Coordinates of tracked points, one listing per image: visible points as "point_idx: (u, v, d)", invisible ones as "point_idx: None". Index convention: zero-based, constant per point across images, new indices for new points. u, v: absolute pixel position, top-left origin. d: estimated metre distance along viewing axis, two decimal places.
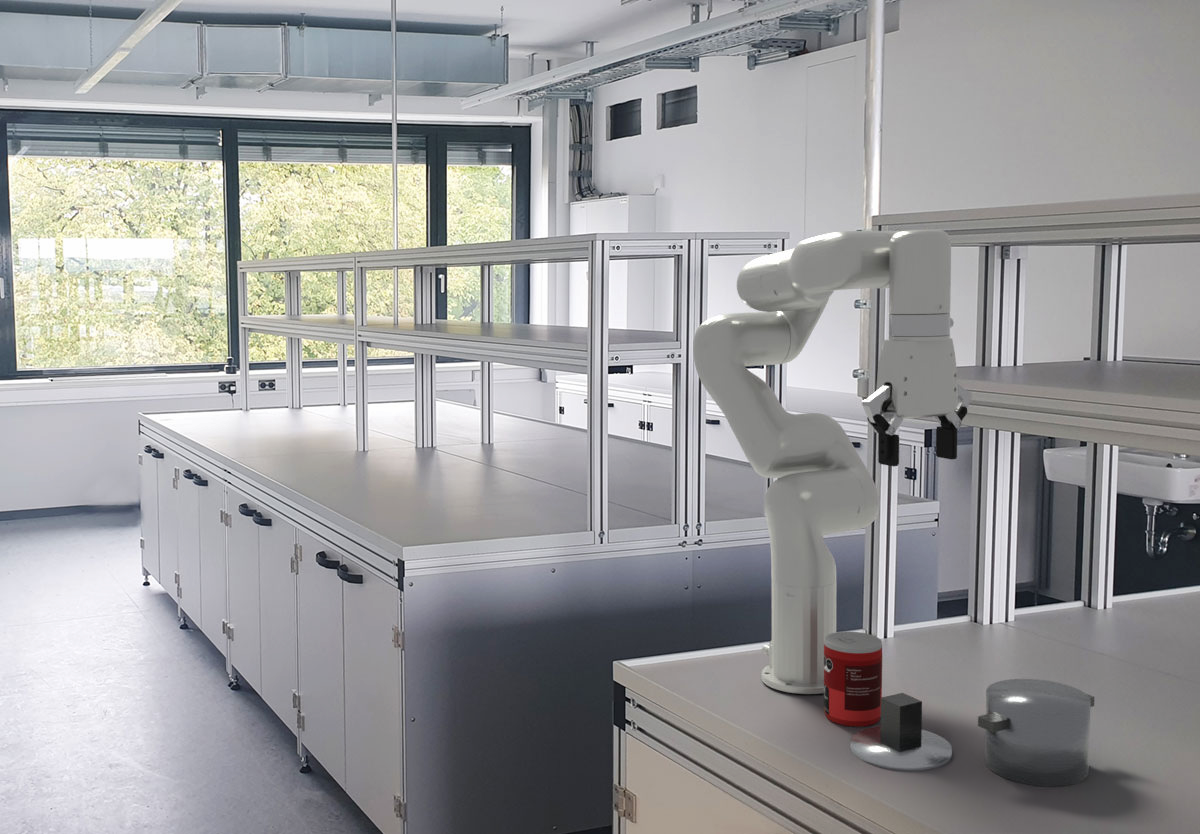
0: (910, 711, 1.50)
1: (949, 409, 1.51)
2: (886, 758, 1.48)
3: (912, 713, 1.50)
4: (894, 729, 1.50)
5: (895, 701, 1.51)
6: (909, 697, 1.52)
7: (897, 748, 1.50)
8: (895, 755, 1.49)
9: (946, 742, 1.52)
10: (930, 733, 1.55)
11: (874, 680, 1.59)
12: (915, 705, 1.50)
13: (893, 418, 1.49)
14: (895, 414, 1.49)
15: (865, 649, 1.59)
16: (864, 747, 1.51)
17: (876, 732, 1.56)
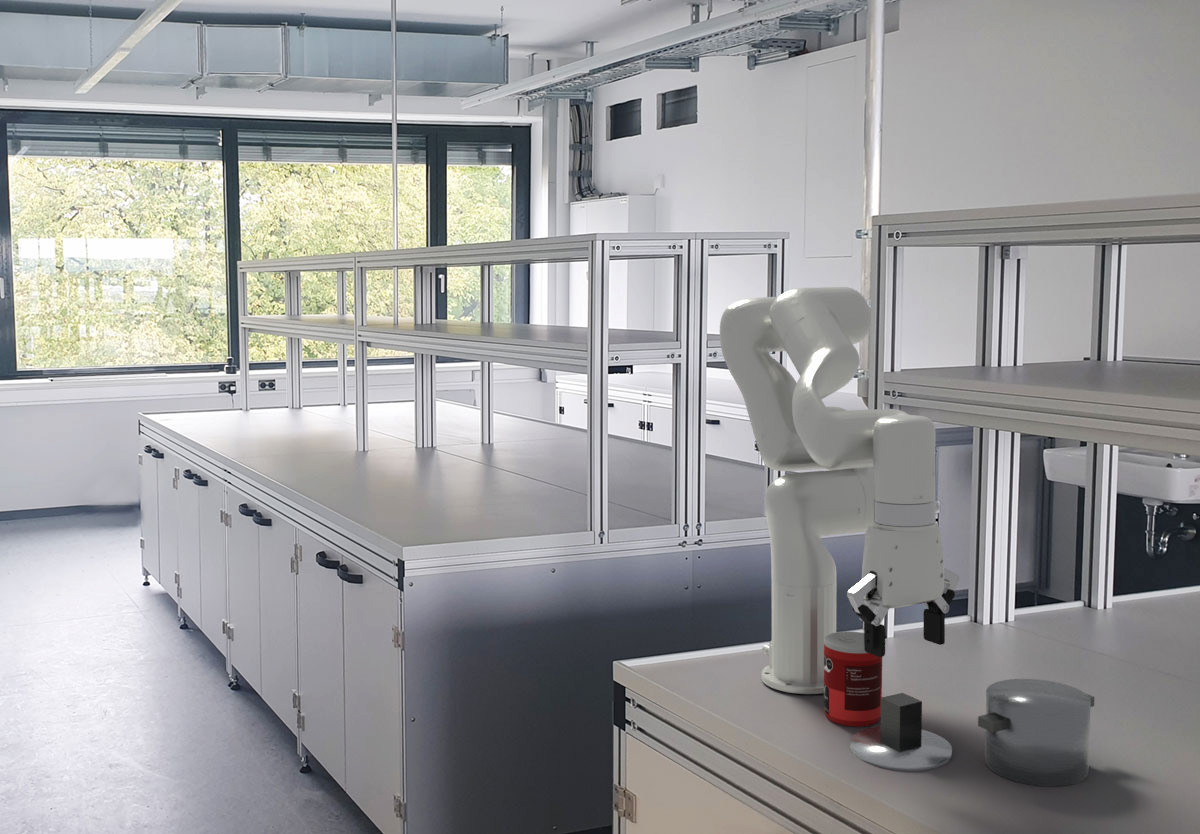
0: (910, 711, 1.50)
1: (936, 595, 1.49)
2: (886, 758, 1.48)
3: (912, 713, 1.50)
4: (894, 729, 1.50)
5: (895, 701, 1.51)
6: (909, 697, 1.52)
7: (897, 748, 1.50)
8: (895, 755, 1.49)
9: (946, 742, 1.52)
10: (930, 733, 1.55)
11: (874, 680, 1.59)
12: (915, 705, 1.50)
13: (879, 608, 1.46)
14: (881, 604, 1.46)
15: None
16: (864, 747, 1.51)
17: (876, 732, 1.56)
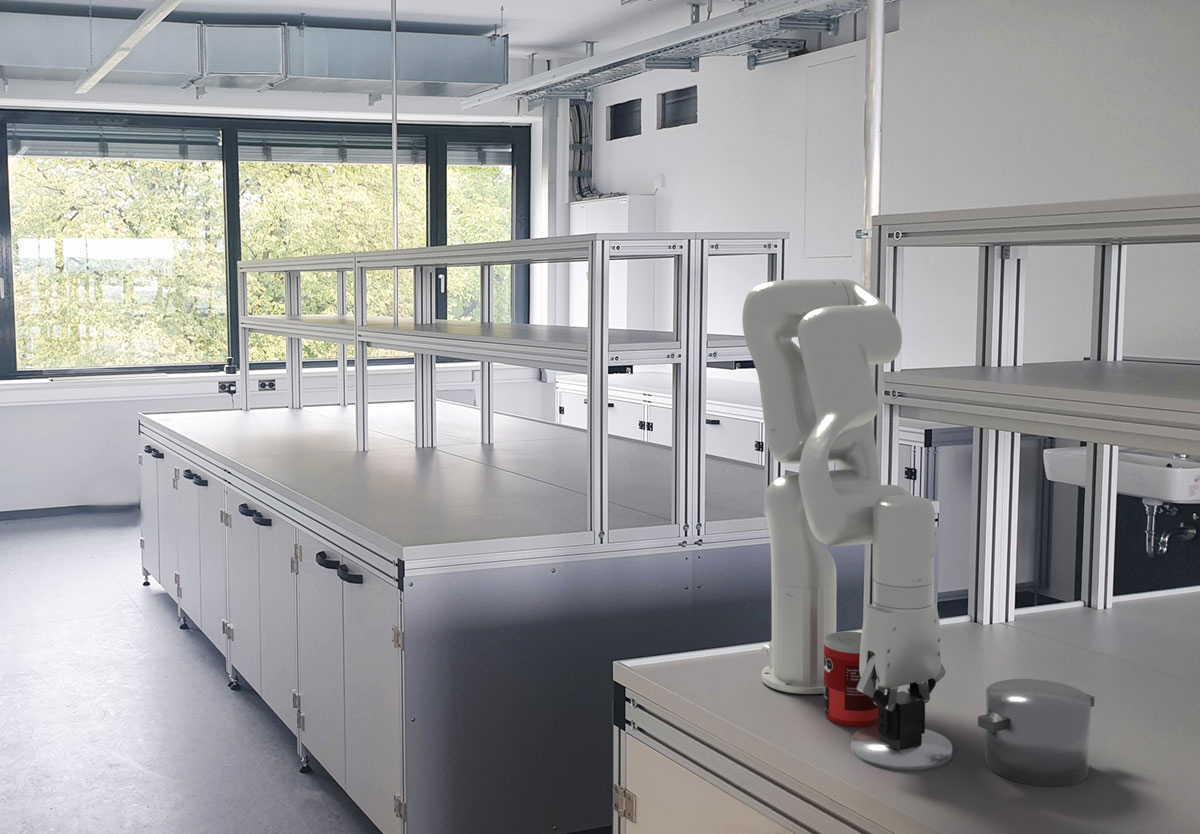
0: (910, 709, 1.50)
1: (933, 674, 1.50)
2: (887, 757, 1.48)
3: (912, 711, 1.50)
4: None
5: None
6: (909, 695, 1.52)
7: (897, 746, 1.50)
8: (895, 753, 1.49)
9: (946, 740, 1.52)
10: (930, 731, 1.55)
11: None
12: (915, 703, 1.50)
13: (888, 695, 1.49)
14: (888, 690, 1.49)
15: None
16: (864, 746, 1.51)
17: (876, 730, 1.56)
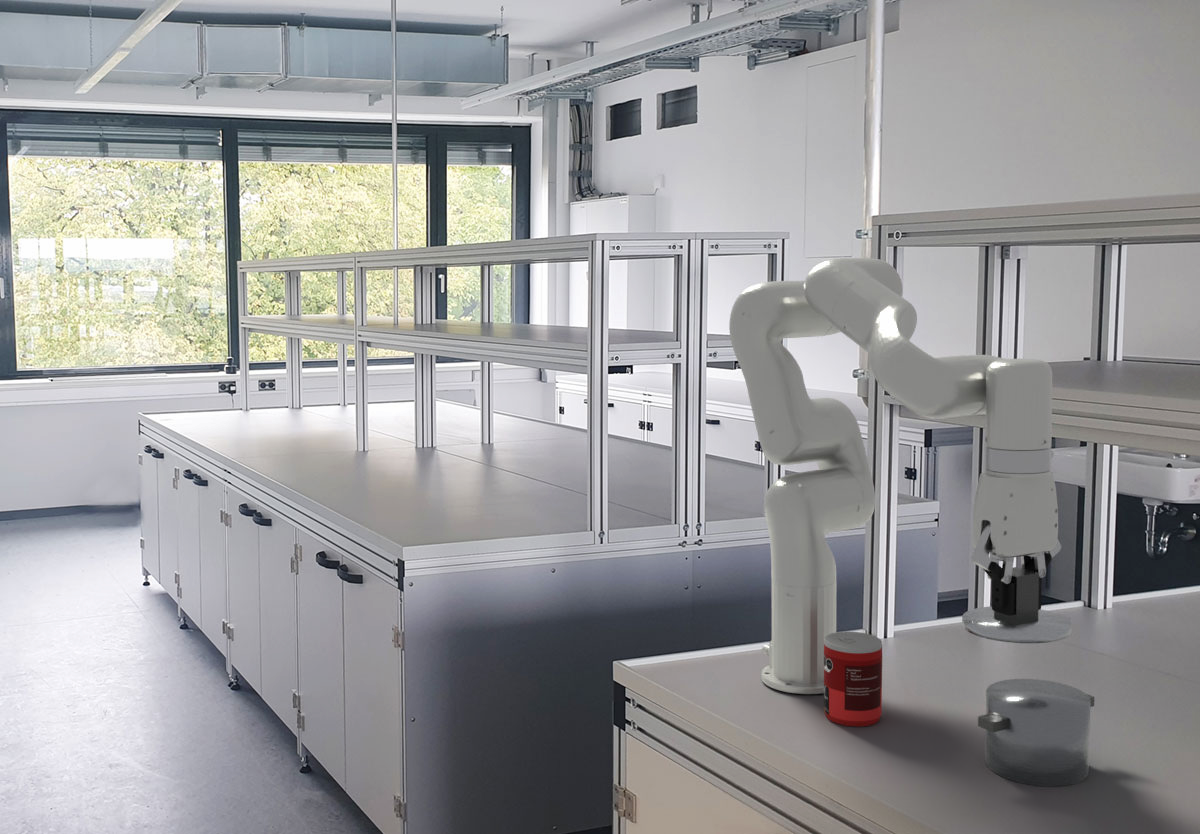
0: (1027, 583, 1.43)
1: (1050, 546, 1.44)
2: (1004, 630, 1.41)
3: (1029, 585, 1.43)
4: None
5: None
6: (1024, 570, 1.45)
7: (1013, 621, 1.43)
8: (1012, 628, 1.42)
9: (1063, 617, 1.45)
10: (1045, 611, 1.48)
11: (874, 680, 1.59)
12: (1032, 576, 1.43)
13: (1004, 566, 1.42)
14: (1004, 561, 1.42)
15: (865, 649, 1.58)
16: (977, 622, 1.44)
17: (987, 610, 1.49)
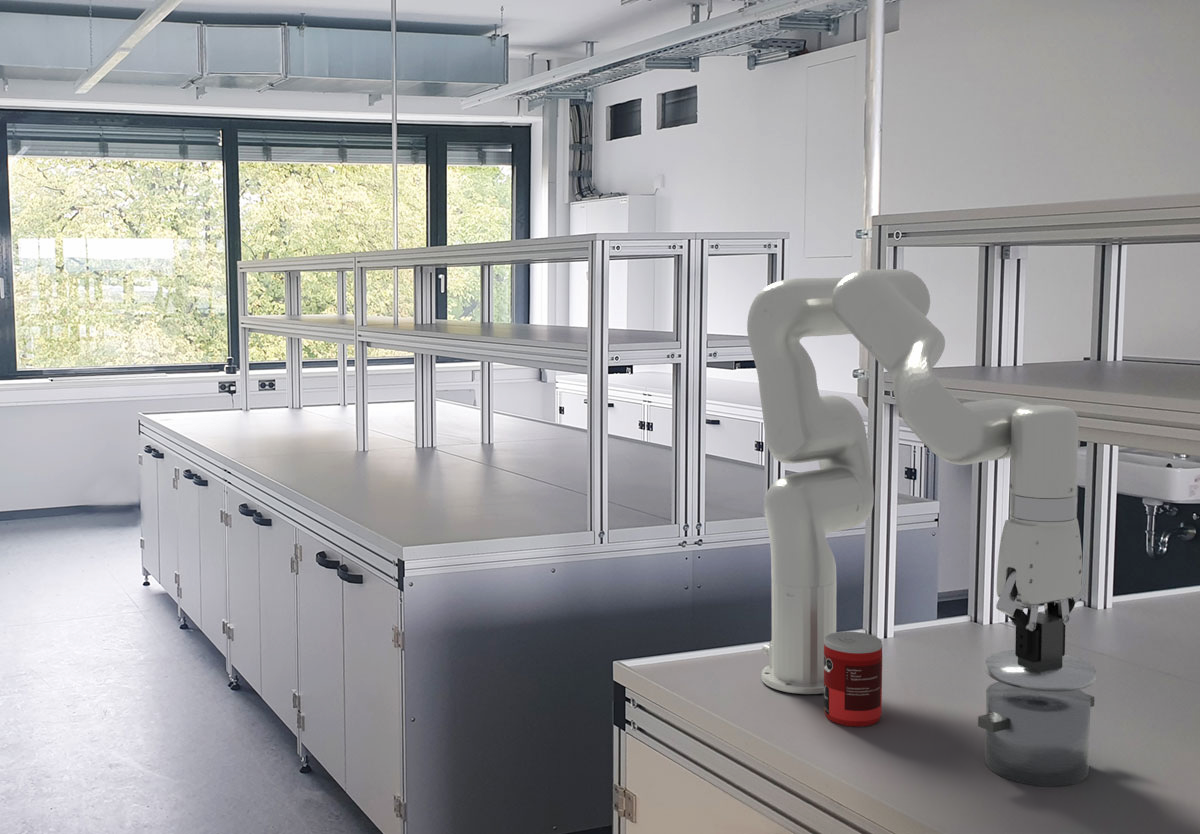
0: (1051, 629, 1.43)
1: (1074, 592, 1.43)
2: (1029, 678, 1.40)
3: (1053, 631, 1.43)
4: None
5: None
6: (1048, 616, 1.45)
7: (1038, 668, 1.43)
8: (1037, 675, 1.41)
9: (1087, 663, 1.45)
10: (1067, 655, 1.48)
11: (874, 680, 1.59)
12: (1057, 623, 1.43)
13: (1028, 613, 1.42)
14: (1029, 608, 1.42)
15: (865, 649, 1.58)
16: (1002, 668, 1.44)
17: (1010, 655, 1.49)
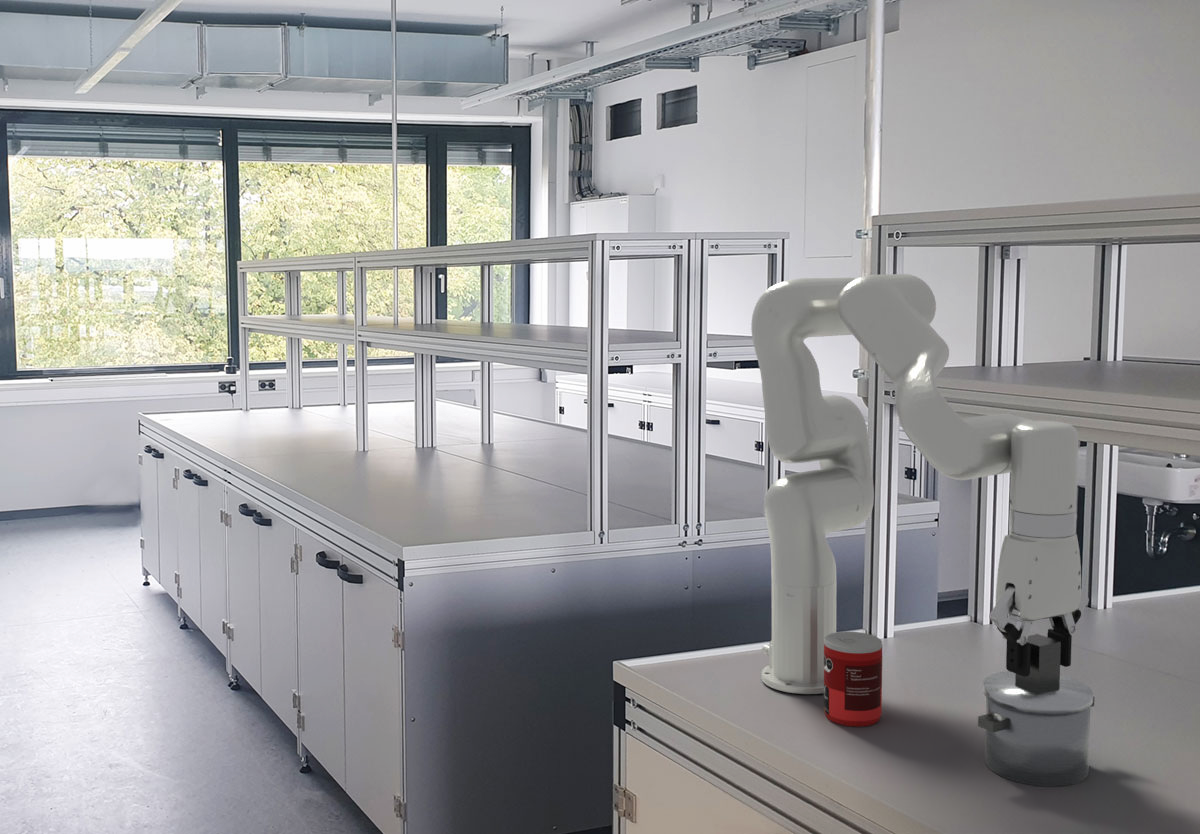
0: (1049, 652, 1.43)
1: (1073, 608, 1.44)
2: (1027, 700, 1.41)
3: (1051, 654, 1.43)
4: (1032, 671, 1.43)
5: (1032, 641, 1.44)
6: (1046, 638, 1.45)
7: (1035, 690, 1.43)
8: (1034, 697, 1.42)
9: (1084, 685, 1.46)
10: (1064, 677, 1.49)
11: (874, 680, 1.59)
12: (1054, 645, 1.43)
13: (1022, 627, 1.41)
14: (1023, 622, 1.41)
15: (865, 649, 1.58)
16: (999, 690, 1.45)
17: (1007, 676, 1.49)
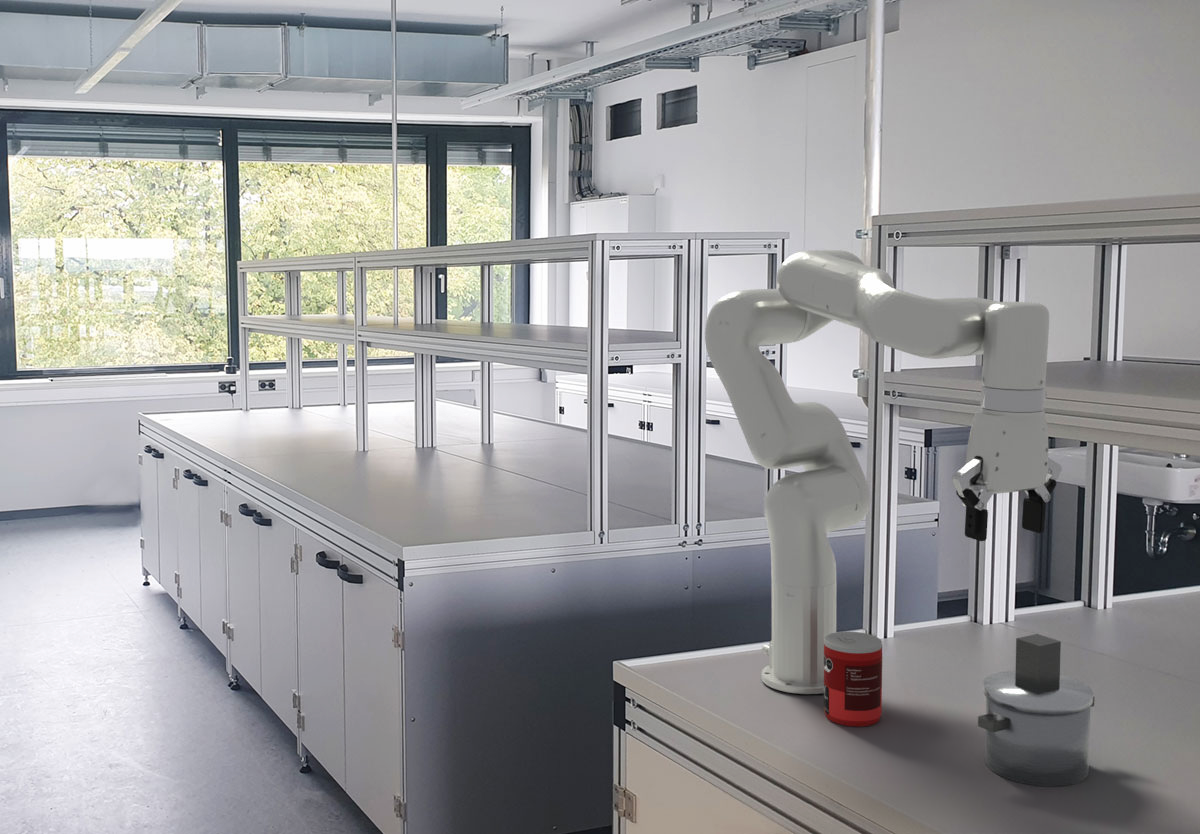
0: (1049, 652, 1.43)
1: (1039, 483, 1.49)
2: (1027, 700, 1.41)
3: (1051, 654, 1.43)
4: (1032, 671, 1.43)
5: (1032, 641, 1.44)
6: (1046, 638, 1.45)
7: (1035, 690, 1.43)
8: (1034, 697, 1.42)
9: (1084, 685, 1.46)
10: (1064, 677, 1.49)
11: (874, 680, 1.59)
12: (1054, 645, 1.43)
13: (983, 493, 1.47)
14: (985, 489, 1.47)
15: (865, 649, 1.58)
16: (999, 690, 1.45)
17: (1007, 676, 1.49)
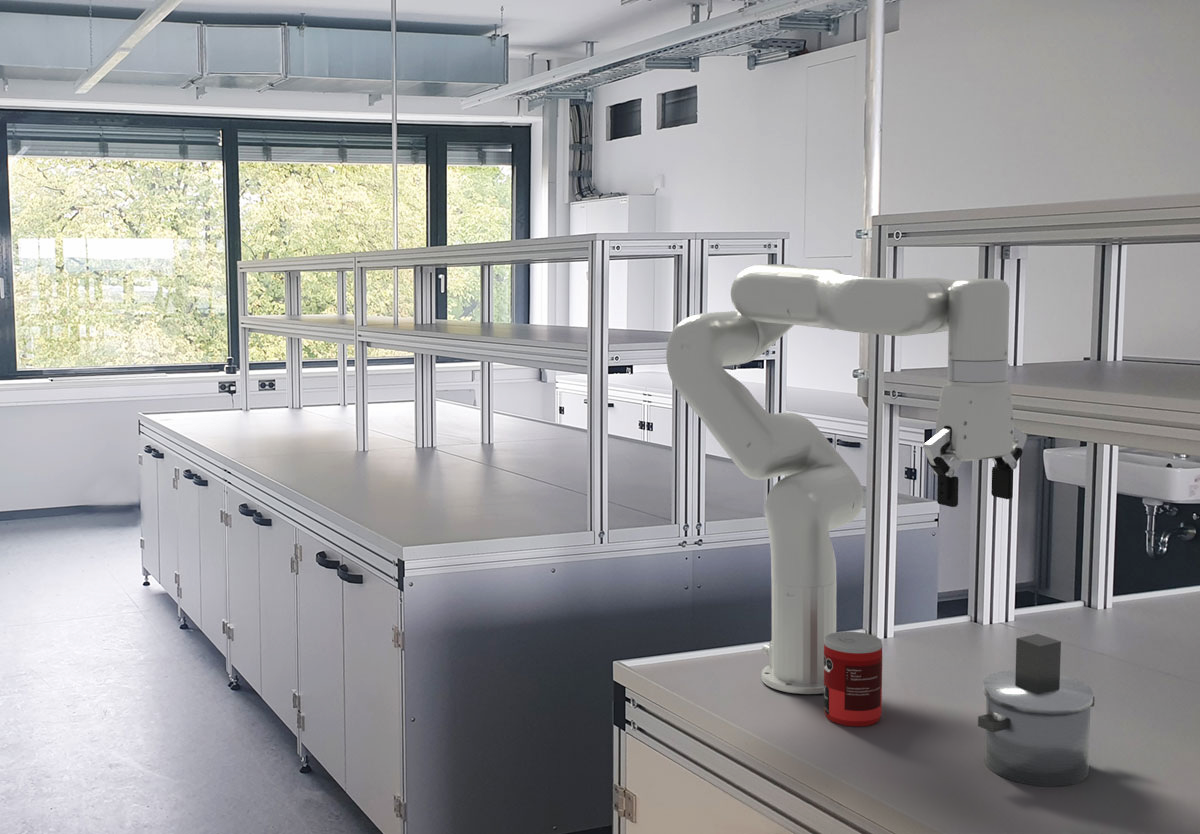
0: (1049, 652, 1.43)
1: (1006, 451, 1.57)
2: (1026, 700, 1.41)
3: (1051, 654, 1.43)
4: (1032, 670, 1.43)
5: (1032, 641, 1.44)
6: (1046, 638, 1.45)
7: (1035, 690, 1.43)
8: (1034, 697, 1.42)
9: (1084, 685, 1.46)
10: (1065, 676, 1.49)
11: (874, 680, 1.59)
12: (1054, 645, 1.43)
13: (953, 460, 1.54)
14: (954, 457, 1.54)
15: (865, 649, 1.58)
16: (999, 690, 1.45)
17: (1007, 676, 1.49)
